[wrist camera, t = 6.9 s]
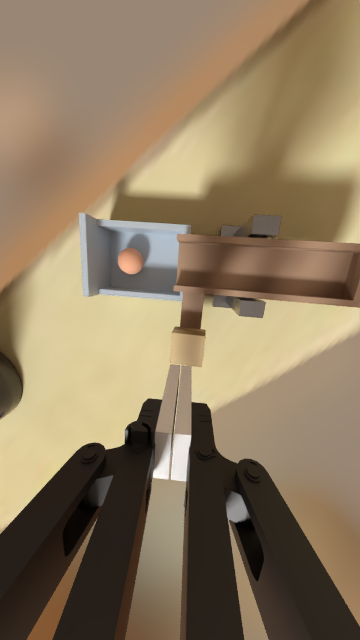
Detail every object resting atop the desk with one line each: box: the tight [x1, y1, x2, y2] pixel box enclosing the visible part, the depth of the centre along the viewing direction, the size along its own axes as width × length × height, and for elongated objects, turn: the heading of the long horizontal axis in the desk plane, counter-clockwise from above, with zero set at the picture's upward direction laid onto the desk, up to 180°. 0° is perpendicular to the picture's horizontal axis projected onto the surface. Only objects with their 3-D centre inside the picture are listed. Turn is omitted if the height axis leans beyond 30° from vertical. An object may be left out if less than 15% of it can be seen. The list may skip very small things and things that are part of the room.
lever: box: [170, 234, 360, 367], centre depth 21 cm, size 18×14×3 cm
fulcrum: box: [212, 215, 282, 318], centre depth 23 cm, size 13×11×10 cm
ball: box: [118, 248, 144, 274], centre depth 27 cm, size 3×3×3 cm
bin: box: [79, 213, 192, 301], centre depth 25 cm, size 12×9×7 cm
